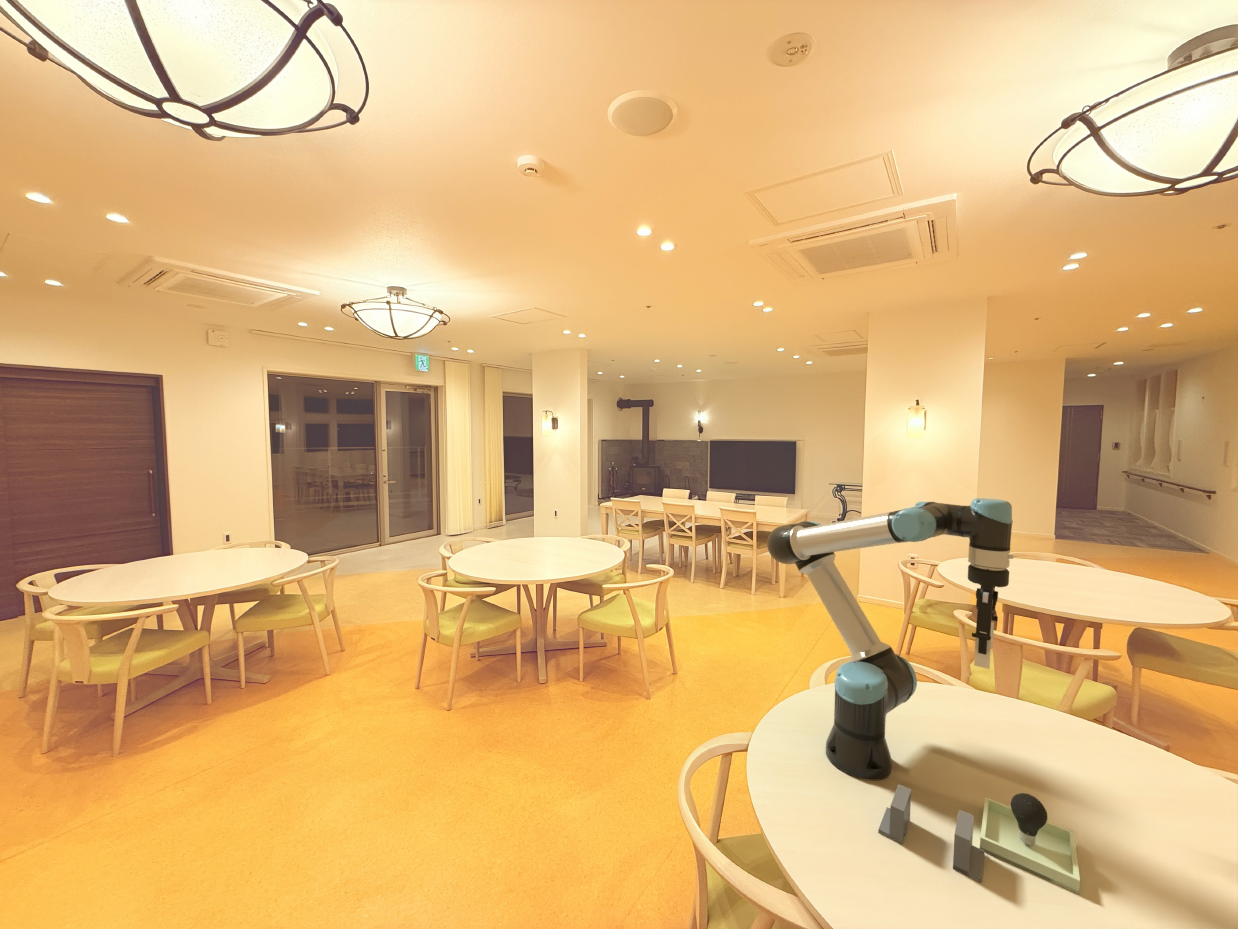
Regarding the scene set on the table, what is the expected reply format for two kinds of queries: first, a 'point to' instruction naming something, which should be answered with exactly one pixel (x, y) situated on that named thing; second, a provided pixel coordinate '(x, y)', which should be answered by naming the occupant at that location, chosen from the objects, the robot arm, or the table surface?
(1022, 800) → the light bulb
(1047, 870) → the tray
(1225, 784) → the table surface
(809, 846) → the table surface
